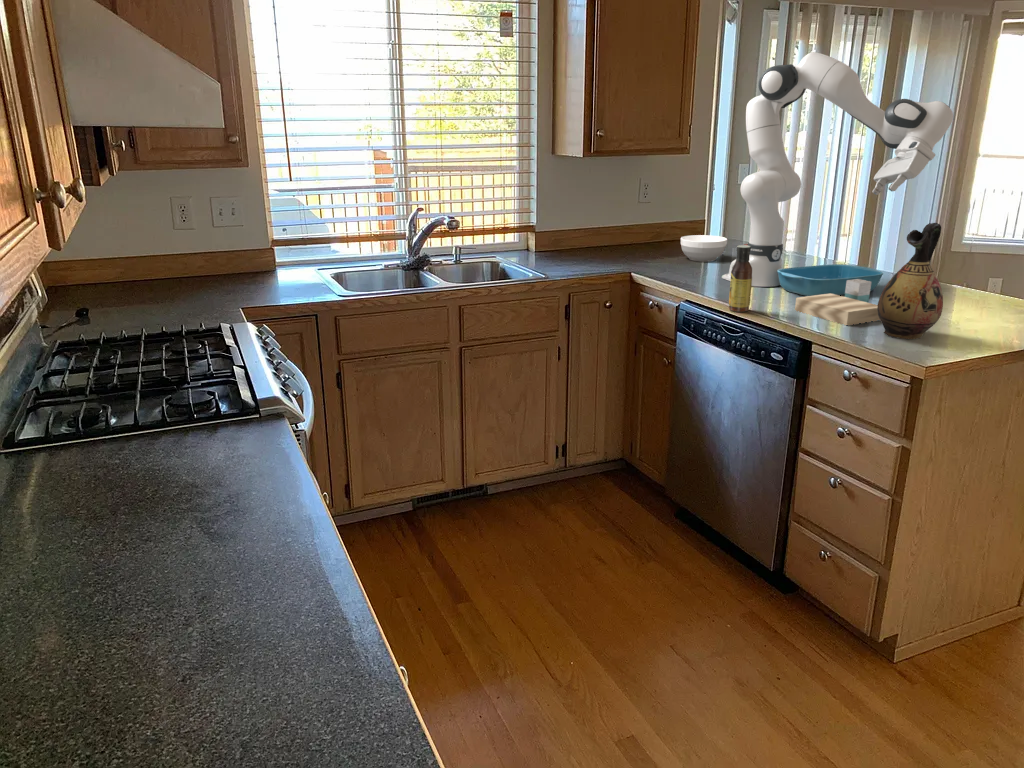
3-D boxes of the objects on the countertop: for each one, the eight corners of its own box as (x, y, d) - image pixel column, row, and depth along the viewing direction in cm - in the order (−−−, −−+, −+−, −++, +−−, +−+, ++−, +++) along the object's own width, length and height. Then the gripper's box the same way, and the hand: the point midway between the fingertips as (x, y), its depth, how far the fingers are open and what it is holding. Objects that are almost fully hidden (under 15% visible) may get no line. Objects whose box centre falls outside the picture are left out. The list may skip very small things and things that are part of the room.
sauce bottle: (733, 306, 237) (738, 243, 230) (752, 309, 233) (758, 245, 226) (724, 310, 232) (729, 246, 225) (743, 313, 228) (749, 248, 221)
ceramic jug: (918, 346, 194) (939, 229, 184) (862, 333, 206) (878, 222, 196) (951, 335, 203) (972, 223, 194) (895, 324, 215) (912, 217, 205)
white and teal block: (843, 305, 237) (846, 280, 234) (854, 303, 239) (858, 278, 236) (855, 308, 233) (859, 283, 230) (867, 307, 235) (871, 281, 232)
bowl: (671, 257, 322) (672, 236, 319) (710, 254, 328) (711, 234, 325) (694, 264, 305) (695, 243, 302) (734, 261, 311) (736, 240, 308)
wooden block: (794, 310, 231) (796, 297, 230) (828, 305, 237) (830, 293, 235) (846, 325, 214) (848, 312, 213) (882, 320, 219) (884, 306, 218)
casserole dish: (843, 280, 274) (845, 260, 272) (894, 292, 255) (897, 271, 253) (762, 289, 261) (764, 269, 259) (809, 303, 242) (812, 281, 239)
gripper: (885, 152, 237) (858, 189, 238) (922, 141, 217) (892, 181, 218) (900, 164, 238) (873, 201, 239) (939, 154, 217) (909, 194, 219)
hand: (882, 191), depth 228 cm, fingers open, 8 cm apart
